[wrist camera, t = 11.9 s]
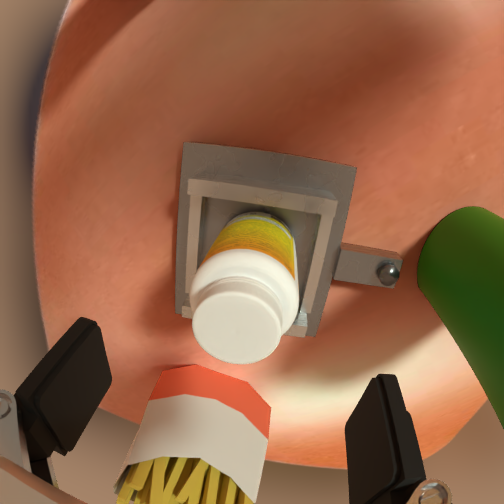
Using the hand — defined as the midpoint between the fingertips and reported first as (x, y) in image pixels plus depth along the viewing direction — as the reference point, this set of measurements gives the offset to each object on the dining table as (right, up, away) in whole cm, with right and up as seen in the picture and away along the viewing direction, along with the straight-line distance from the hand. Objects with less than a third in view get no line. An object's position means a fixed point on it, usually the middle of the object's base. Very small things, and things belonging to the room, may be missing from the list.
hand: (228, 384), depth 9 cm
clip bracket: (+4, +5, +14) cm, 15 cm away
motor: (+19, +4, +13) cm, 23 cm away
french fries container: (-3, -9, +20) cm, 23 cm away
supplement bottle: (+1, +5, +13) cm, 14 cm away
